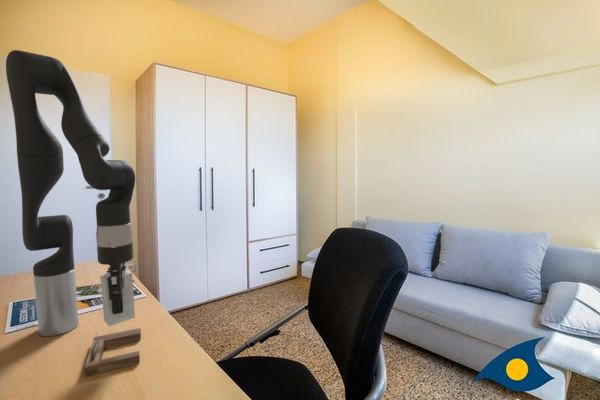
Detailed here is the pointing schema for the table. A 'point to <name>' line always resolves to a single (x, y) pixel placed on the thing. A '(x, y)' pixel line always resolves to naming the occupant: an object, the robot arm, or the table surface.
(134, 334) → the wooden u-shaped block
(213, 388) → the table surface
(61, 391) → the table surface
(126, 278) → the skincare box
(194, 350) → the table surface
